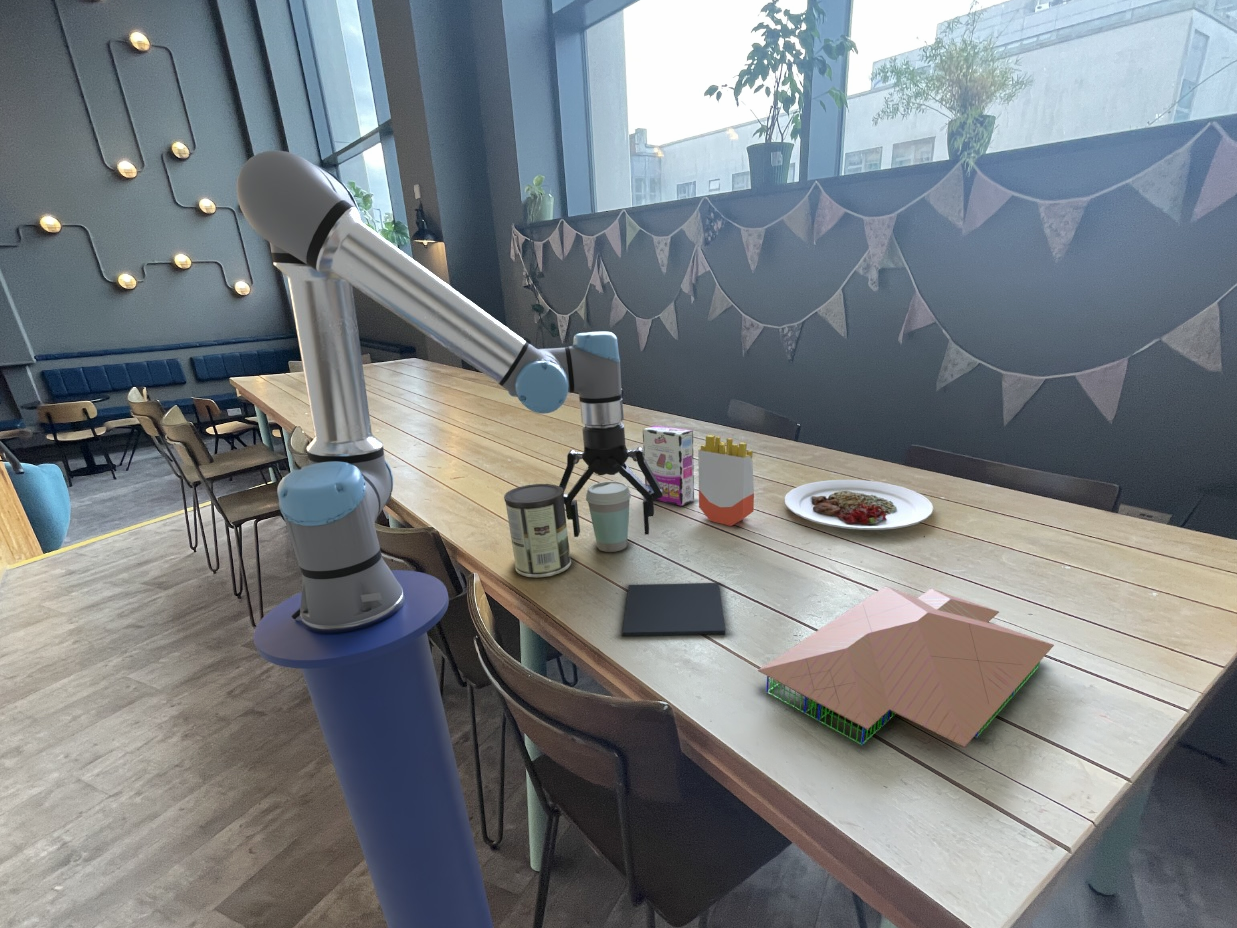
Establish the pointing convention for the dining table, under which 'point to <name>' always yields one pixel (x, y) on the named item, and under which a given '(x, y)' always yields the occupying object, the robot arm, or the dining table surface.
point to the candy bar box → (671, 462)
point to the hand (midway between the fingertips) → (612, 533)
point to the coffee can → (538, 529)
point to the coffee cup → (609, 514)
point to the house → (910, 664)
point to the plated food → (858, 504)
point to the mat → (673, 610)
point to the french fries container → (725, 481)
